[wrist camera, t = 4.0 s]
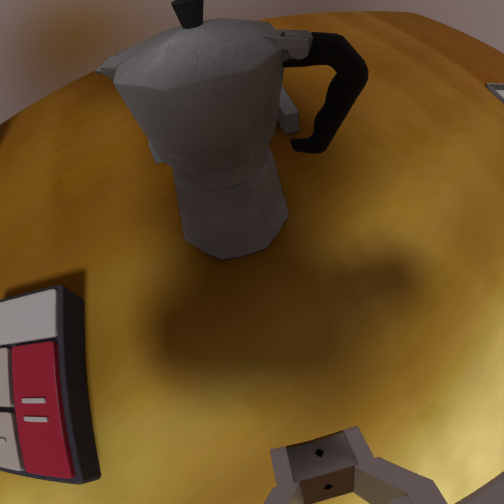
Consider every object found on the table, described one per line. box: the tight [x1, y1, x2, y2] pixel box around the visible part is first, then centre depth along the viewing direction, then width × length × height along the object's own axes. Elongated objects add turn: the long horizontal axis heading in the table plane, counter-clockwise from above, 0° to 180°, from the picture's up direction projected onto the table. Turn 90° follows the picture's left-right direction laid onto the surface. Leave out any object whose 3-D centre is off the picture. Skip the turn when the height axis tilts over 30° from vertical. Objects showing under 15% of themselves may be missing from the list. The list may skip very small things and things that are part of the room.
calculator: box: [0, 285, 101, 484], centre depth 19 cm, size 11×4×15 cm
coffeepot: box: [96, 0, 368, 260], centre depth 19 cm, size 15×9×18 cm, turn 81°
